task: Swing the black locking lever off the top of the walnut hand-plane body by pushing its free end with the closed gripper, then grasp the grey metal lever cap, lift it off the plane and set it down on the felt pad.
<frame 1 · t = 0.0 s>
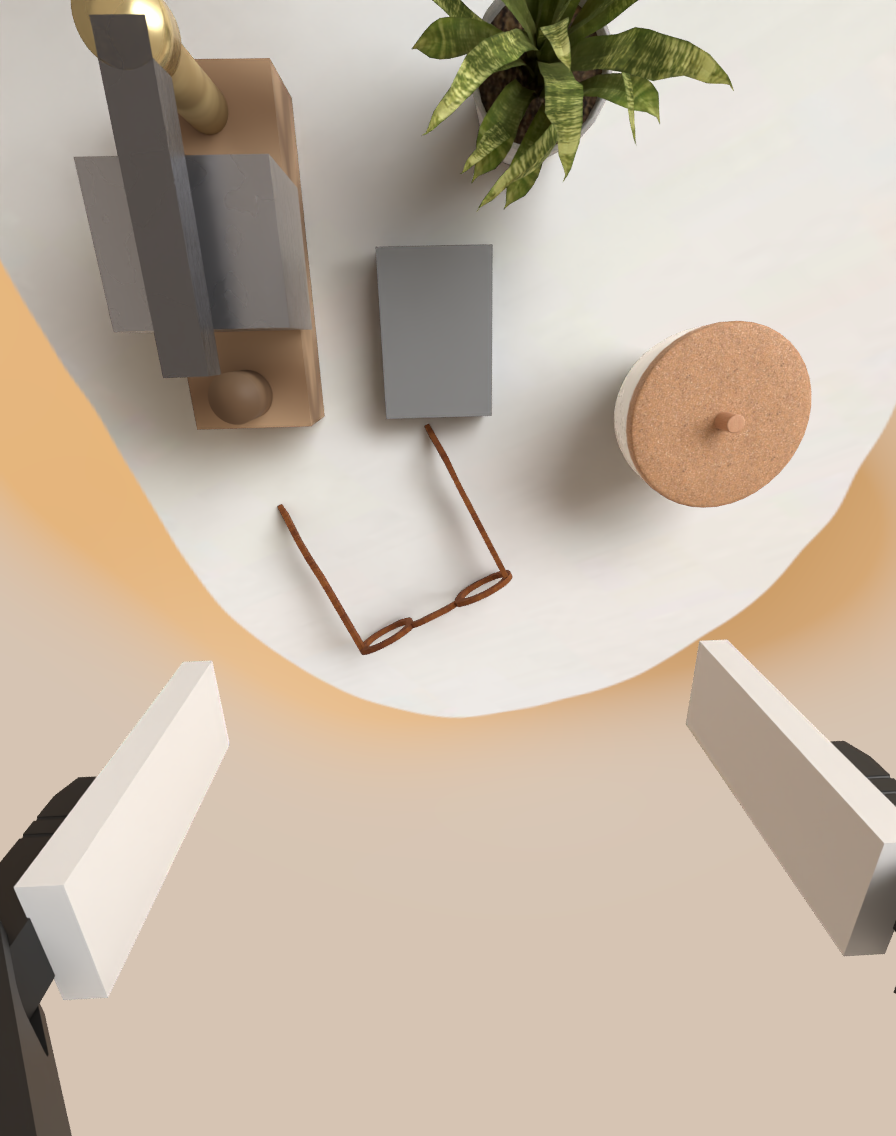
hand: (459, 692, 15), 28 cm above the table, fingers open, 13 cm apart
lidded jar: (667, 405, 40), on the table
lever: (159, 196, 23), point 13 cm above the table, hinge at 0.0°
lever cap: (229, 263, 31), point 5 cm above the table, touching plane body
glasses: (397, 536, 44), on the table
house plant: (505, 96, 33), on the table
plane body: (254, 273, 36), on the table
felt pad: (436, 336, 38), on the table
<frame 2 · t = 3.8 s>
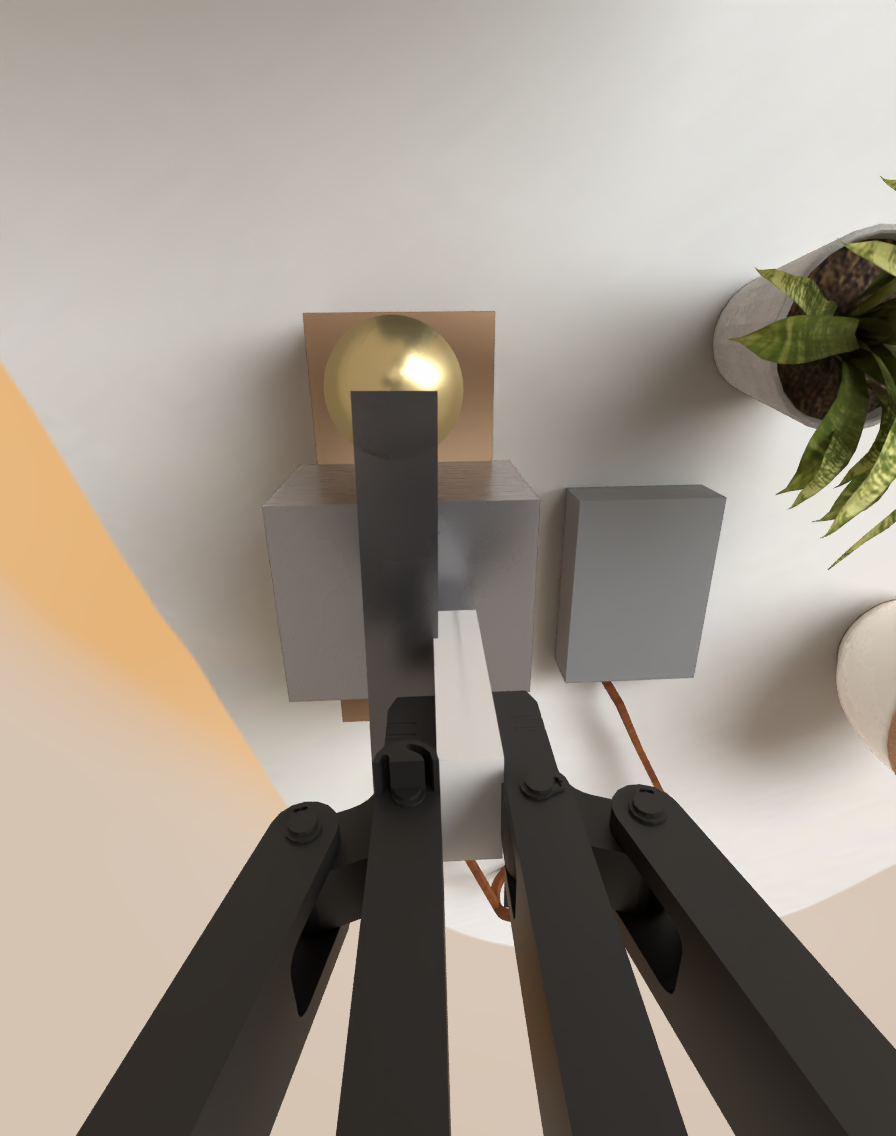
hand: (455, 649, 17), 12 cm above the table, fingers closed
lidded jar: (885, 643, 33), on the table
lever: (401, 591, 16), point 13 cm above the table, hinge at -0.9°, touching gripper
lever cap: (408, 544, 24), point 5 cm above the table, touching plane body
glasses: (537, 765, 36), on the table
house plant: (748, 313, 26), on the table
plane body: (409, 511, 29), on the table
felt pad: (623, 576, 31), on the table
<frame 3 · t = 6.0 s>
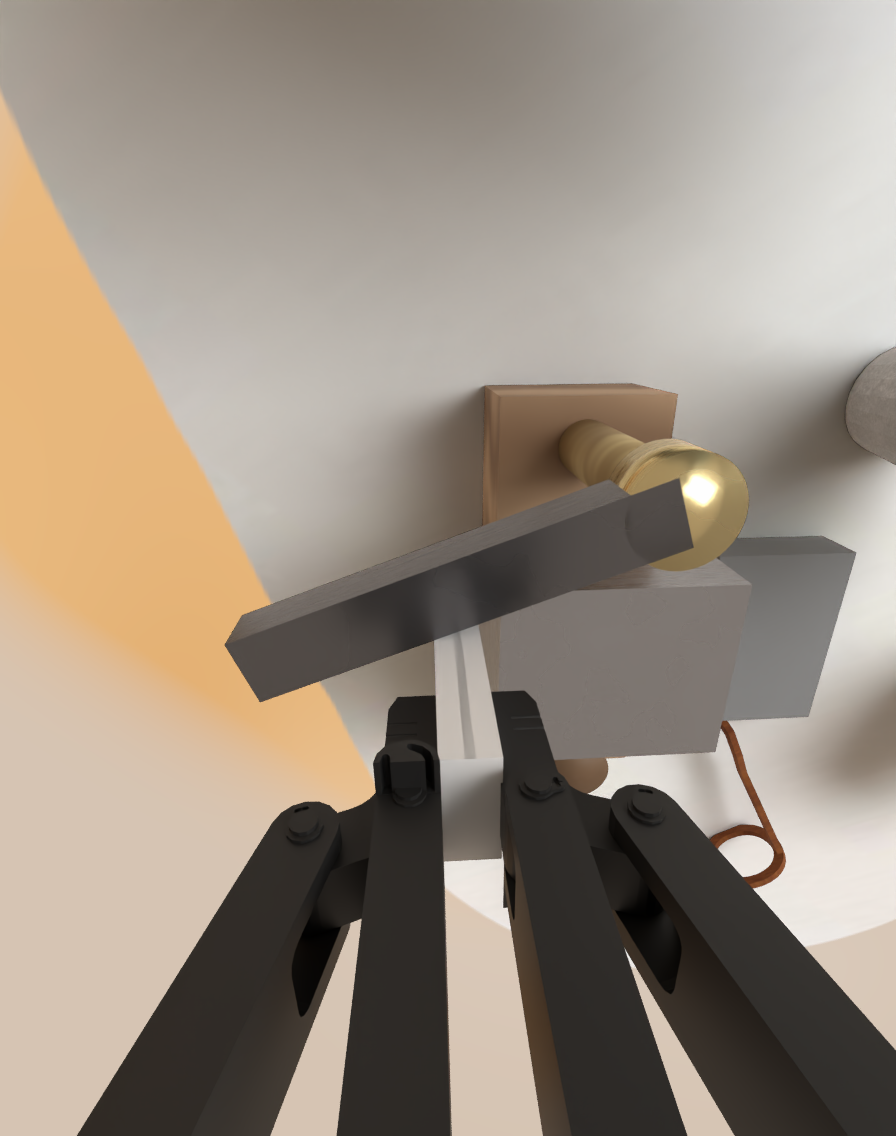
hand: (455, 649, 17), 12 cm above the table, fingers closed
lever: (481, 573, 16), point 13 cm above the table, hinge at -70.2°, touching gripper
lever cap: (571, 603, 25), point 5 cm above the table, touching plane body
glasses: (636, 788, 37), on the table
house plant: (880, 379, 27), on the table
plane body: (547, 561, 30), on the table
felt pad: (741, 620, 32), on the table
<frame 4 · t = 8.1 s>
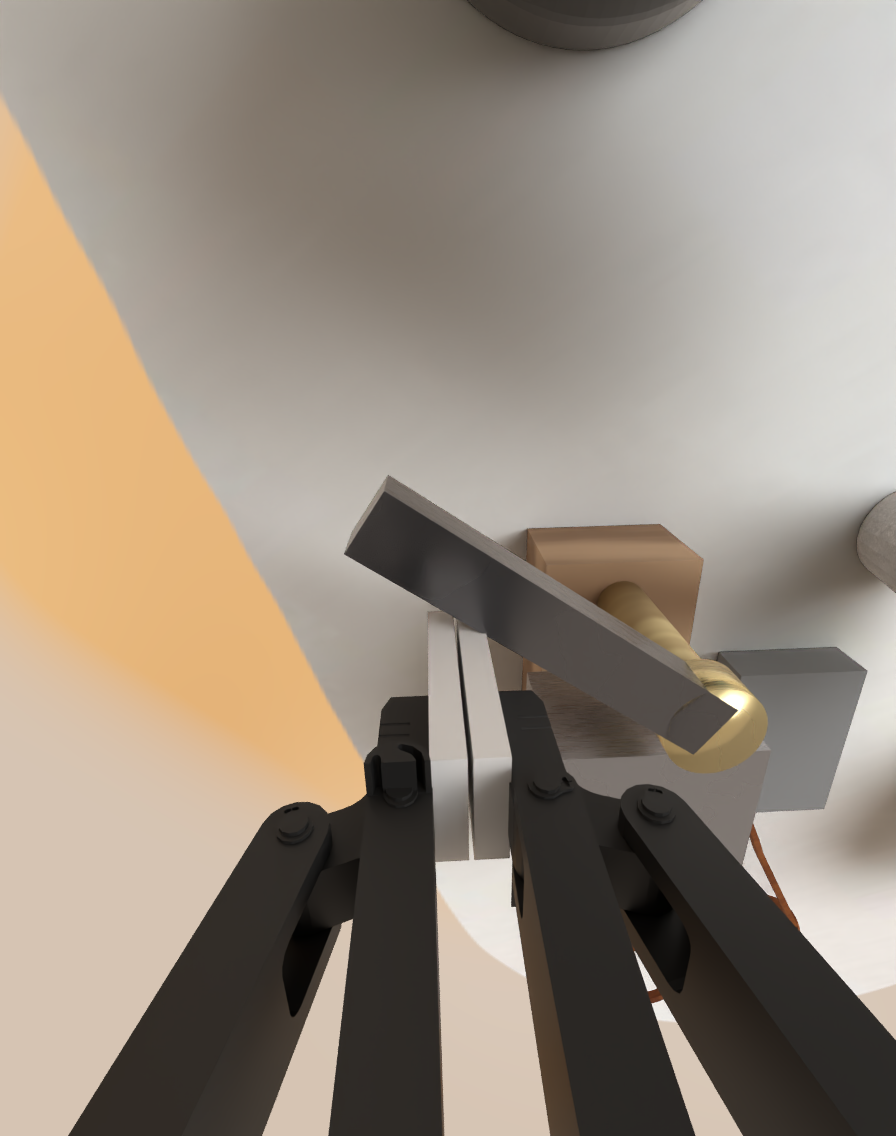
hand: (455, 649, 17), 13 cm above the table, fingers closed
lever: (571, 636, 17), point 13 cm above the table, hinge at -124.9°, touching gripper
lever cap: (607, 727, 28), point 5 cm above the table, touching plane body
glasses: (659, 860, 40), on the table
house plant: (888, 514, 30), on the table
plane body: (581, 672, 33), on the table
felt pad: (761, 719, 35), on the table
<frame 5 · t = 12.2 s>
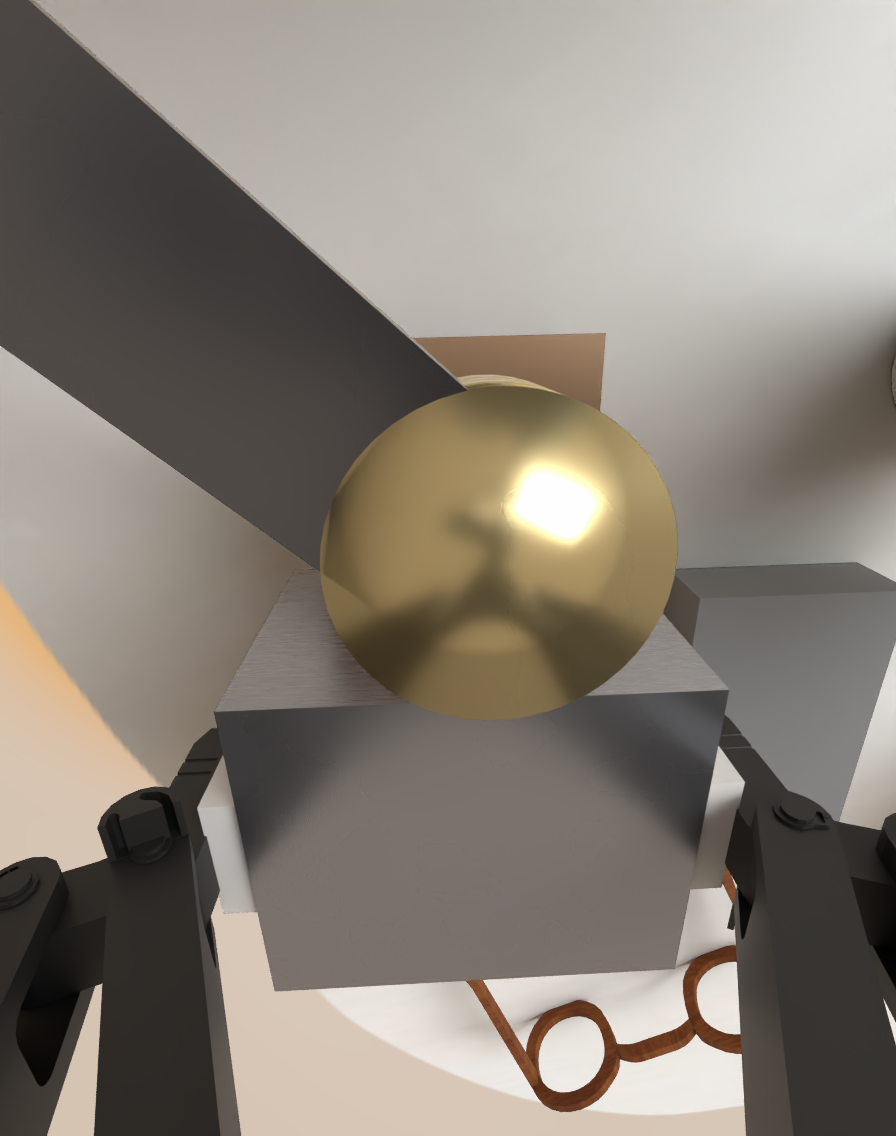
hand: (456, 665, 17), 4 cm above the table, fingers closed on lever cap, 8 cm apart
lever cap: (458, 678, 16), point 5 cm above the table, touching gripper, plane body
glasses: (588, 895, 28), on the table
plane body: (450, 602, 21), on the table
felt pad: (739, 681, 22), on the table
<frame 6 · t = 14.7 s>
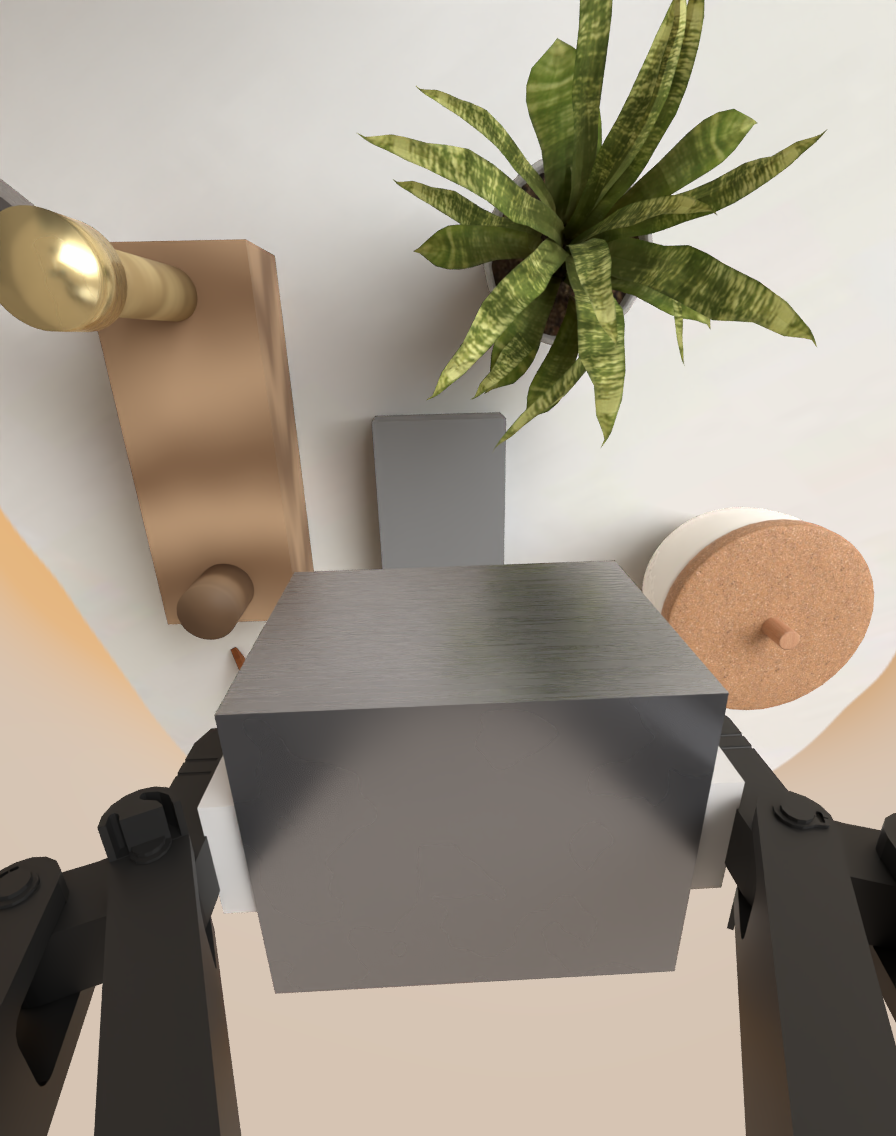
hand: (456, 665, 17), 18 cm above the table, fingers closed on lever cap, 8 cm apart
lidded jar: (699, 566, 36), on the table
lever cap: (458, 680, 16), point 19 cm above the table, touching gripper
house plant: (520, 250, 29), on the table
plane body: (234, 438, 32), on the table
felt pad: (440, 500, 33), on the table
when the fingers open (4 cm above the table, at t = 17.5 s): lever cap drops 2 cm, resting on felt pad.
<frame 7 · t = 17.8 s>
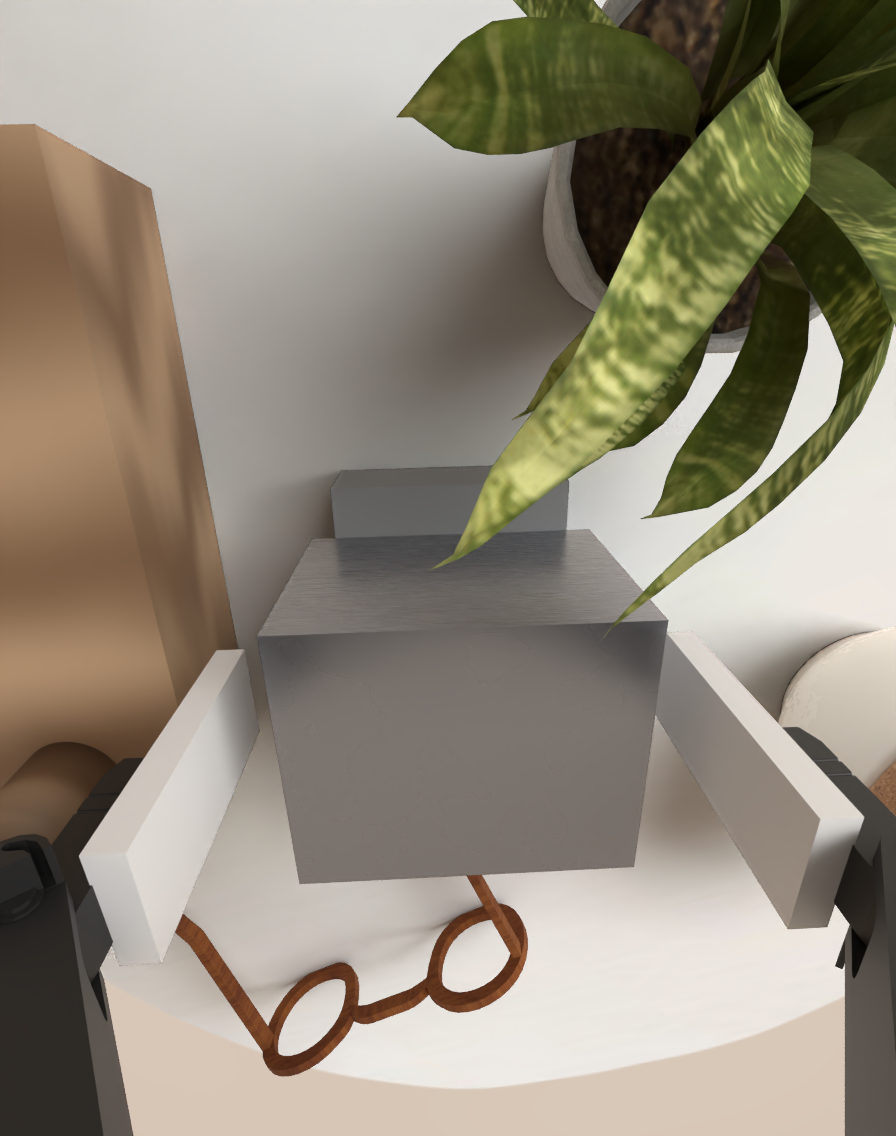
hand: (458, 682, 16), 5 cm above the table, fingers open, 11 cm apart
lidded jar: (851, 693, 23), on the table
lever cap: (453, 635, 18), point 2 cm above the table, touching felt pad
glasses: (333, 847, 26), on the table, touching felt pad
house plant: (597, 182, 16), on the table
plane body: (104, 507, 19), on the table
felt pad: (450, 602, 21), on the table
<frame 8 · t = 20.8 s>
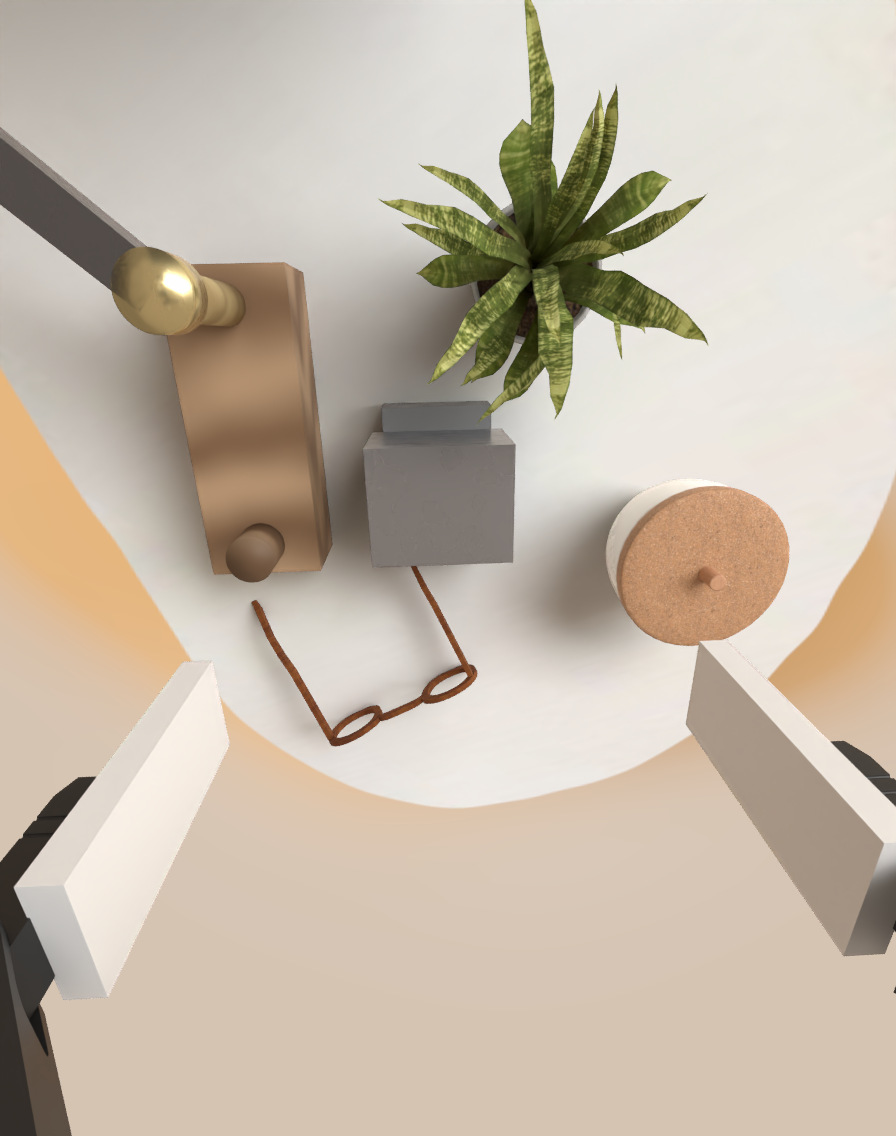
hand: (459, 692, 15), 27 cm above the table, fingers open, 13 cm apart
lidded jar: (657, 532, 43), on the table
lever: (35, 193, 22), point 13 cm above the table, hinge at -131.5°
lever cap: (438, 483, 38), point 2 cm above the table, touching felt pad
glasses: (368, 629, 45), on the table
house plant: (502, 268, 35), on the table
plane body: (267, 422, 38), on the table
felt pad: (437, 475, 40), on the table
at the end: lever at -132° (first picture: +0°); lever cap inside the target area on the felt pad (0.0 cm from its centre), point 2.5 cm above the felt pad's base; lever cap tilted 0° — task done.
